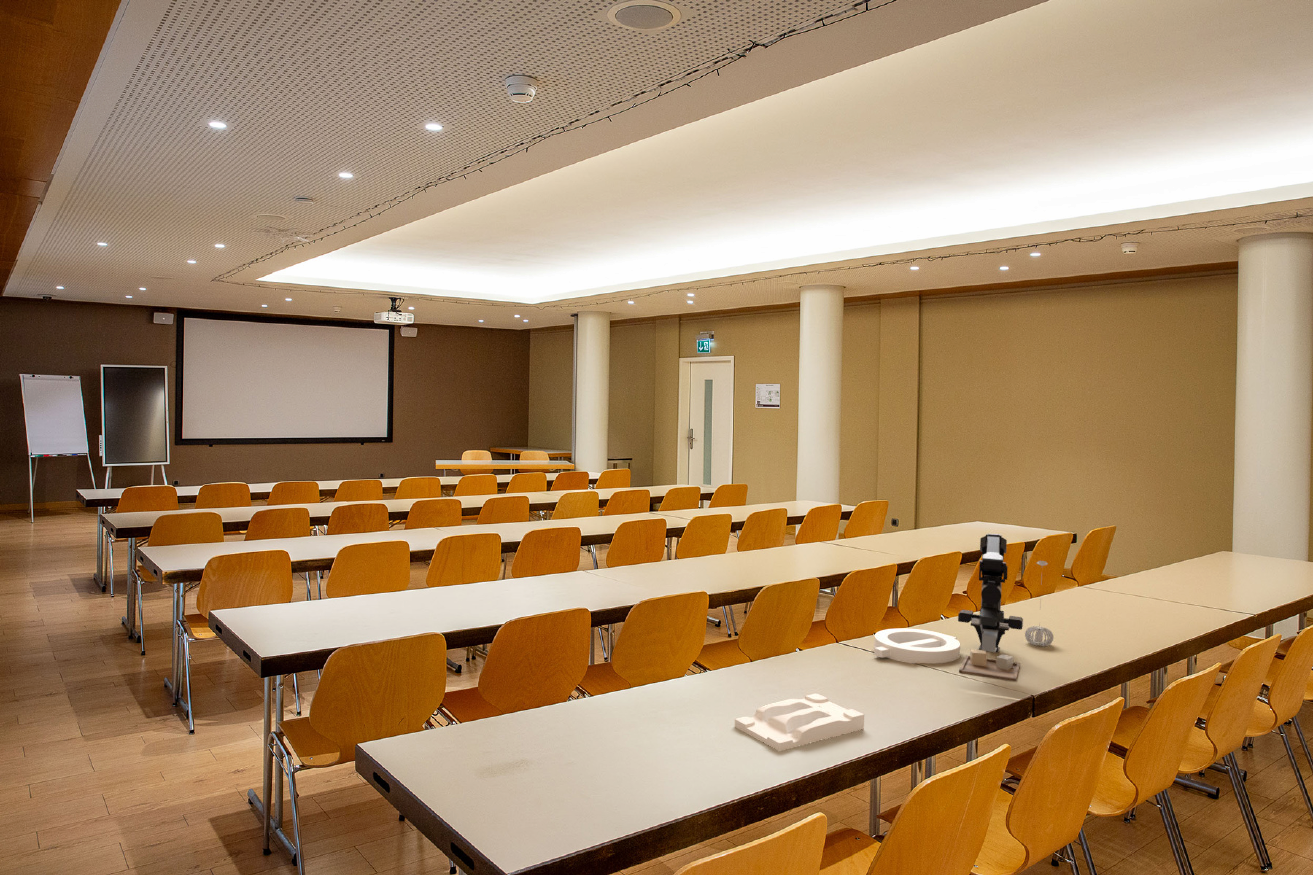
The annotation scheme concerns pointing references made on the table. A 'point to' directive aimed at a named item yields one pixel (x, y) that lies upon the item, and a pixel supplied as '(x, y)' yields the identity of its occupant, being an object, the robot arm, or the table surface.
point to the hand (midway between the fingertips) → (989, 646)
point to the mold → (800, 722)
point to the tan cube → (978, 657)
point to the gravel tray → (989, 670)
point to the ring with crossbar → (916, 646)
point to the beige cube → (1004, 662)
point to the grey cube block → (989, 641)
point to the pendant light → (1039, 628)
